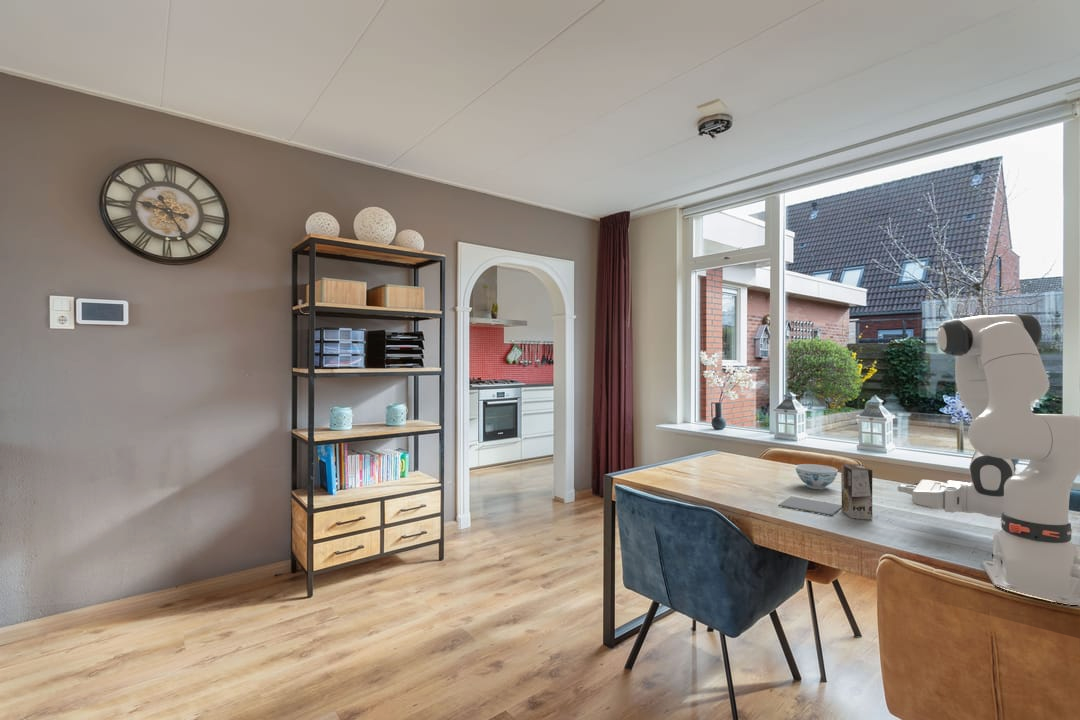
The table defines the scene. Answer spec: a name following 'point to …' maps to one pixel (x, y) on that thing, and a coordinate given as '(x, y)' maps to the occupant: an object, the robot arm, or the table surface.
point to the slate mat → (811, 505)
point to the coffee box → (856, 491)
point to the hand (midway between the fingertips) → (898, 487)
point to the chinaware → (816, 475)
